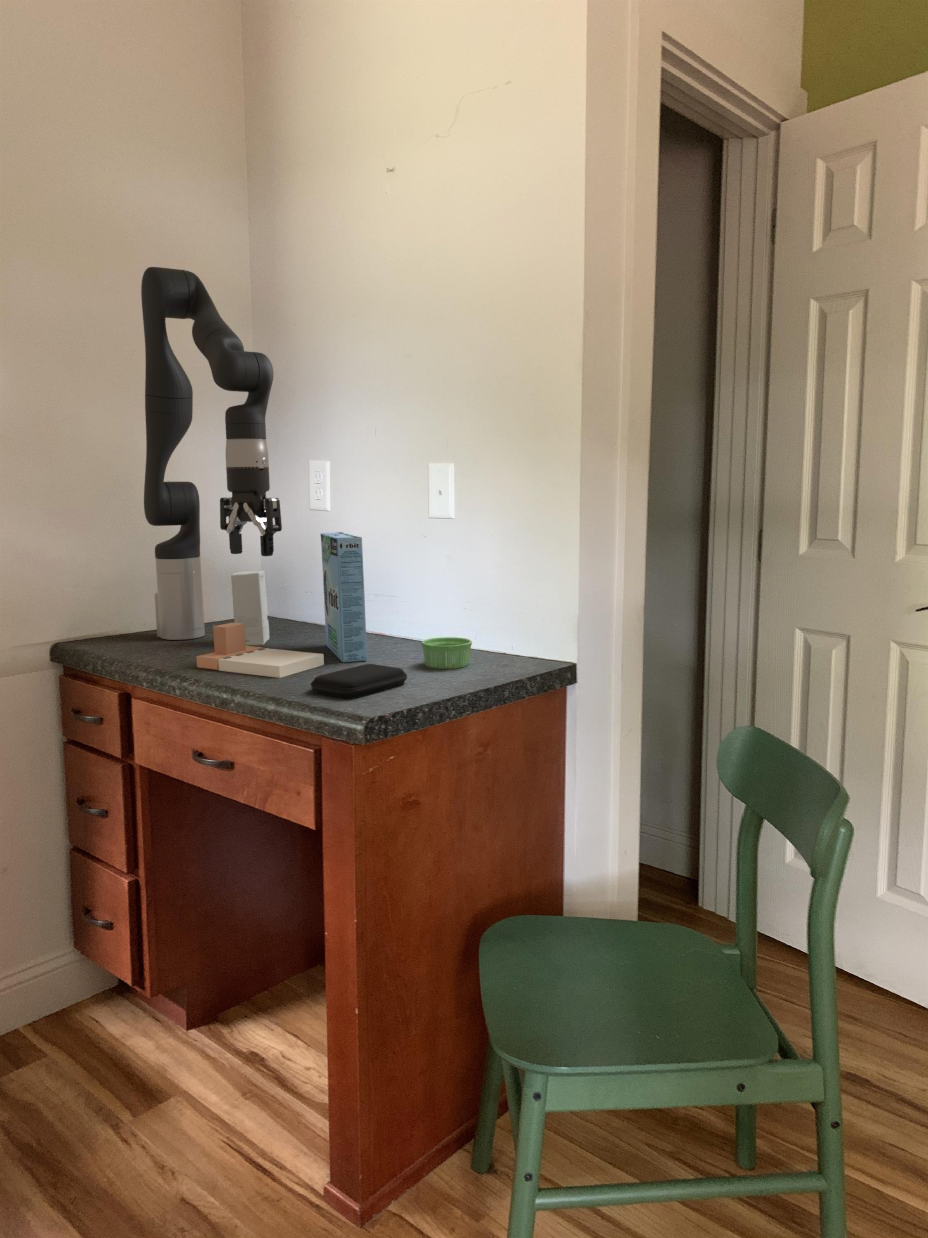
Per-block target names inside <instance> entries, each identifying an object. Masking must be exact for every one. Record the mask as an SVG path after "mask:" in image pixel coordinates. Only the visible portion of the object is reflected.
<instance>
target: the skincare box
mask: <svg viewBox="0 0 928 1238" xmlns="http://www.w3.org/2000/svg"><path fill="white" fill-rule="evenodd" d="M230 578H231V579H230V580H231V591H232V607H233V619H234V622H233V623H244V624H245V637H246V646H254V647H262V646H264V645H265V643H267V642H268V641H269V640H270V625H269V613H268V599H267V597H268V596H267V588H266V587H267V586H266V571H265V570H253V571H252V570H251V571H250V570H249V571H247V570H246V571H238V572H234V573H233V574H231V575H230Z"/></svg>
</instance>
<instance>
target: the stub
mask: <svg viewBox="0 0 928 1238" xmlns="http://www.w3.org/2000/svg"><path fill="white" fill-rule="evenodd" d="M212 627H213V628H212V629H213V630H212V631H213V648H214V652H210V653H209V652H208V653H205V654H201V655H196V657H195V658H196V667H197V668H199V669H200V668H201V669H209V670H216V671H217V670H218V671H219V663H218V659H222V658H226V657H230V656H234V655H238V654H242V653H246V652H250V651H255V650H258V649H263V648H264V647H263V646H251V645H246V637H245V624H244V623H234V622H229V623H228V622H227V623H224V624H219V625H213V626H212Z"/></svg>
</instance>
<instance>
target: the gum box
mask: <svg viewBox="0 0 928 1238" xmlns="http://www.w3.org/2000/svg"><path fill="white" fill-rule="evenodd" d="M320 542H321V543H320V545H321V562H322V563H321V564H322V582H323V584H322V585H323V588H322V589H323V604H324V625H325V626H324V627H325V645H326V647H327V648H329V650H330V651H331V652H332V653H333V654H334V655H335V656H336V657H337V658H338V659H339V660H340V661H341V663H349V662H350V663H352V662H364V661H368V647H367V644H368V643H367V628H366V627H367V626H366V624H367V623H366V605H365V604H366V600H365V599H366V597H365V579H364V578H365V577H364V559H363V558H364V555H363V553H364V552H363V537H361V536H357V535H354V534H350V533H344V532H342V531H340V532H338V531H337V532H321V533H320Z"/></svg>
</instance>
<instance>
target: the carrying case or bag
mask: <svg viewBox="0 0 928 1238" xmlns="http://www.w3.org/2000/svg"><path fill="white" fill-rule="evenodd" d="M407 679H408V675H407V673H406V672H405V671H404V669H402V668H400V667H394V666H389V665H388V666H387V665H383V664H382V665H381V664H376V663H375V664H374V663H367V664H362V665H357V666H353V667H348V668H344V669H340V670H337V671H332V672H328V673H325V674H320V675H317V676H315V678H314V679H313V680H312V681H311V682H310V687H311V689H312V690H313V692H315V694H318V695H323V696H328V697H334V698H338V697H339V699H347V700H348V699H350V700H351V699H356V698H360V697H363V696H367V695H370V694H374V693H375V694H376V693H378V692H383V691H385V690H388V689H392V688H396V687H399V686H401V685H403V684H405V681H407Z"/></svg>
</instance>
